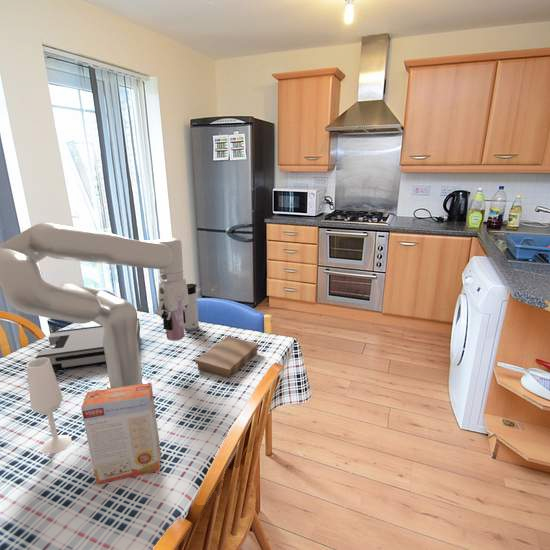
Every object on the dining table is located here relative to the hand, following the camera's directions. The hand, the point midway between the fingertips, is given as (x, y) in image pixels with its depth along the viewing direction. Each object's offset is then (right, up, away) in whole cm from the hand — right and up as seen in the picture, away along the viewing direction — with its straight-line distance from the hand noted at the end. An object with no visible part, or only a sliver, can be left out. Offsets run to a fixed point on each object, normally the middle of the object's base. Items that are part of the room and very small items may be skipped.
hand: (174, 325), depth 124 cm
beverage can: (0, -5, +1) cm, 5 cm away
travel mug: (-2, -6, +34) cm, 35 cm away
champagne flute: (-22, -27, -31) cm, 46 cm away
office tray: (-34, -13, +14) cm, 39 cm away
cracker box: (0, -29, -38) cm, 48 cm away
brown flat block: (+18, -14, +8) cm, 24 cm away
